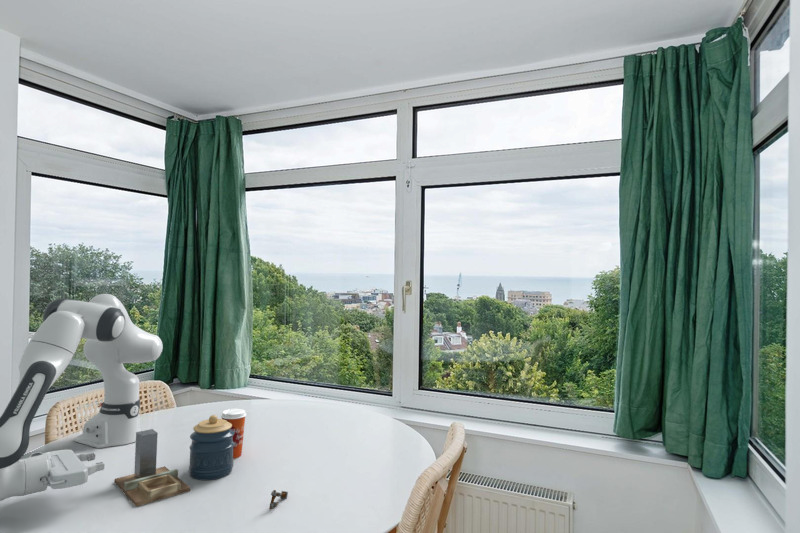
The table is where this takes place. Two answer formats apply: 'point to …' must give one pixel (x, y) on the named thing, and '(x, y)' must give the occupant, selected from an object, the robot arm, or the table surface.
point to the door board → (152, 486)
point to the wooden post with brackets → (274, 494)
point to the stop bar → (145, 453)
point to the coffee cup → (236, 428)
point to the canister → (211, 449)
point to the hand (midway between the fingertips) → (99, 460)
